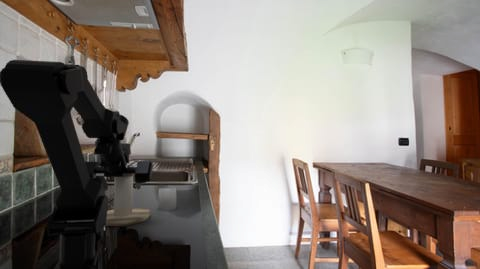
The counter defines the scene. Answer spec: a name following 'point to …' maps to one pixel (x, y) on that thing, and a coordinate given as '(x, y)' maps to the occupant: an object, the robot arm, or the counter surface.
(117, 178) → the translucent tall glass
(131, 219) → the wooden board
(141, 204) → the counter surface
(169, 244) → the counter surface
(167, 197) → the grey upright block
